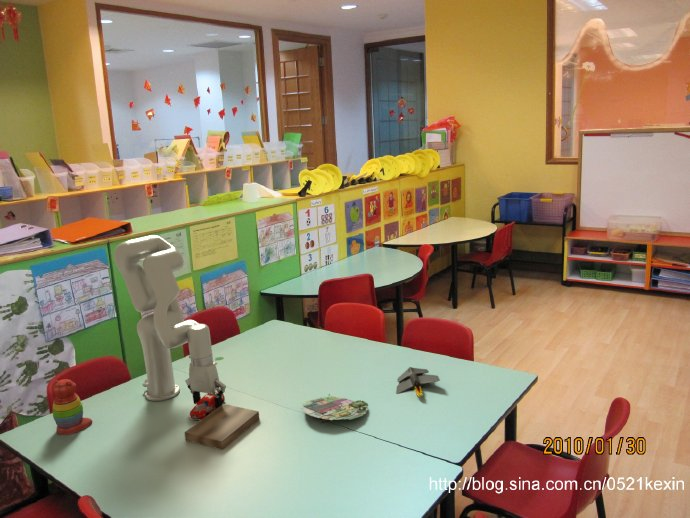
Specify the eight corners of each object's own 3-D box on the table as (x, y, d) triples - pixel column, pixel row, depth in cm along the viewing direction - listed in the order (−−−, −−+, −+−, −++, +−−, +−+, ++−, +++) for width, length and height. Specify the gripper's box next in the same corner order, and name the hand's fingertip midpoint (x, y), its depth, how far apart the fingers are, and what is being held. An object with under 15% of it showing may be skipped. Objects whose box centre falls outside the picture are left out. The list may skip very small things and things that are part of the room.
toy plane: (445, 393, 204) (441, 380, 202) (399, 408, 204) (395, 394, 203) (431, 367, 228) (428, 355, 227) (390, 379, 228) (387, 367, 227)
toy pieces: (191, 365, 245) (189, 356, 244) (206, 355, 255) (205, 346, 254) (214, 369, 241) (213, 359, 240) (229, 358, 251) (228, 349, 250)
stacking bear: (95, 422, 202) (86, 374, 198) (73, 437, 193) (64, 388, 188) (70, 418, 205) (62, 372, 201) (48, 433, 196) (38, 384, 192)
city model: (383, 408, 205) (382, 391, 204) (356, 433, 184) (355, 415, 183) (320, 398, 215) (319, 382, 214) (288, 422, 194) (287, 404, 193)
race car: (203, 423, 197) (201, 410, 196) (186, 421, 200) (184, 408, 198) (228, 401, 212) (227, 388, 211) (212, 398, 214) (211, 386, 213)
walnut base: (185, 440, 187) (184, 432, 186) (224, 411, 204) (223, 403, 203) (222, 449, 180) (221, 441, 179) (259, 419, 197) (258, 411, 196)
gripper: (175, 360, 202) (182, 405, 206) (214, 366, 194) (220, 413, 198) (190, 352, 208) (196, 396, 212) (228, 358, 201) (234, 403, 204)
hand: (208, 404), depth 205 cm, fingers open, 9 cm apart
